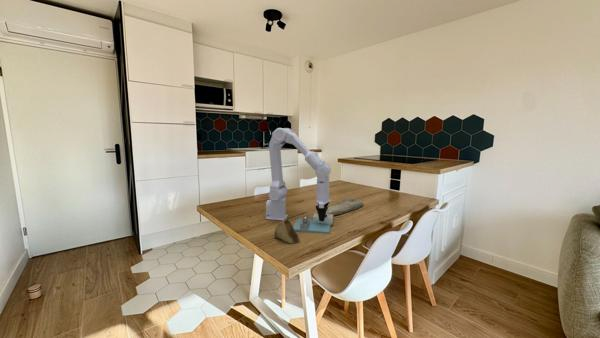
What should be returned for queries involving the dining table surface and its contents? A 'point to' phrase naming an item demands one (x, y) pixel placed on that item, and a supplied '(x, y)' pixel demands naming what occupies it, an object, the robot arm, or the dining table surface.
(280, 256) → the dining table surface
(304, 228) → the metal knob block
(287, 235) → the rock
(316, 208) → the robot arm
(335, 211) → the long grey stone
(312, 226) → the board
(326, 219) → the silver block with hole
